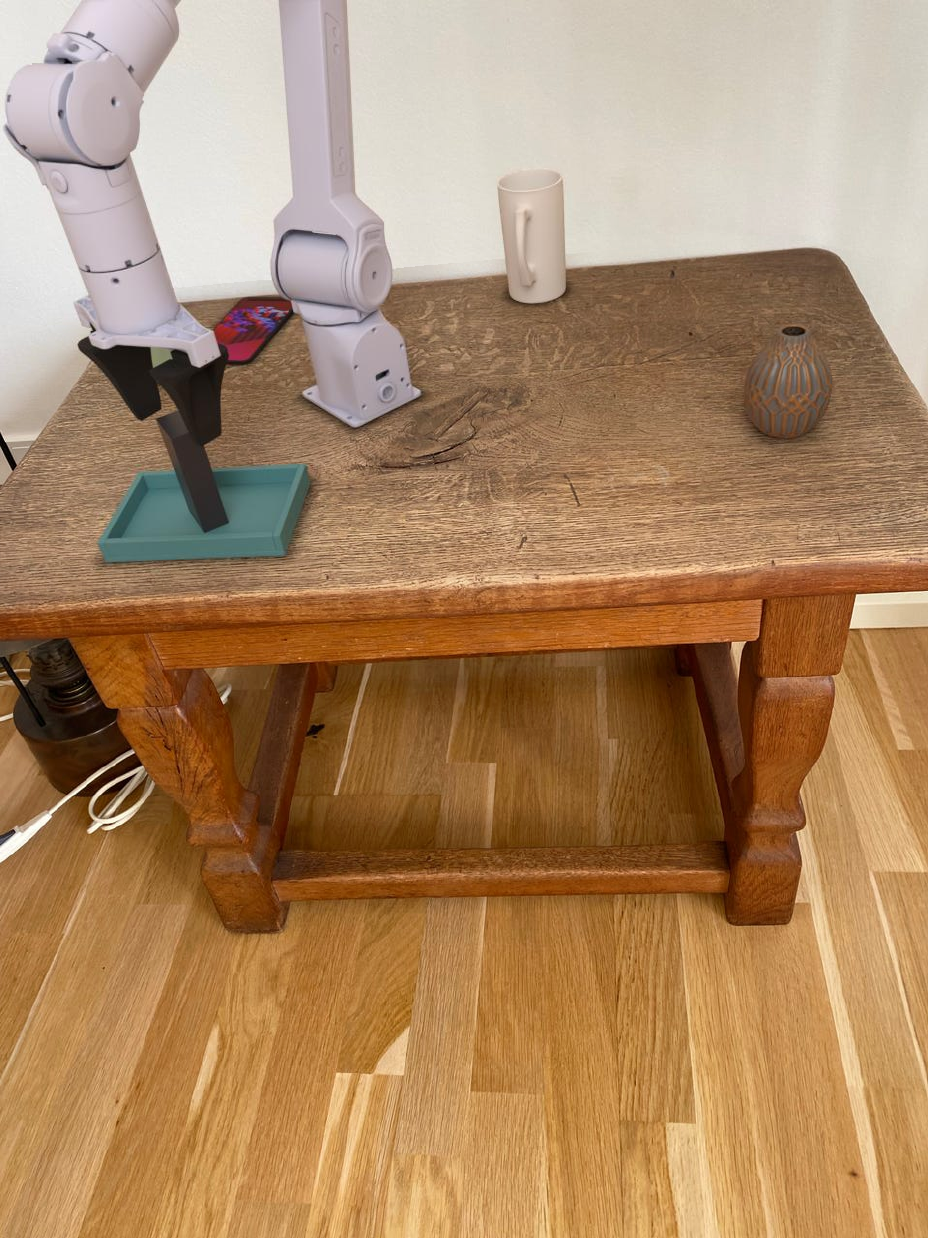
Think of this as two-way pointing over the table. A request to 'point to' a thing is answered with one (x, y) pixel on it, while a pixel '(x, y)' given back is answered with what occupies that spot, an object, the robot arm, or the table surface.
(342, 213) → the robot arm
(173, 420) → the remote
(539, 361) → the table surface
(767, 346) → the vase
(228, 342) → the smartphone
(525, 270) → the mug
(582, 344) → the table surface
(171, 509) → the tray
